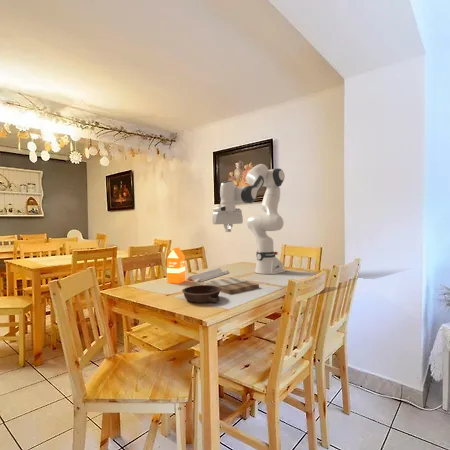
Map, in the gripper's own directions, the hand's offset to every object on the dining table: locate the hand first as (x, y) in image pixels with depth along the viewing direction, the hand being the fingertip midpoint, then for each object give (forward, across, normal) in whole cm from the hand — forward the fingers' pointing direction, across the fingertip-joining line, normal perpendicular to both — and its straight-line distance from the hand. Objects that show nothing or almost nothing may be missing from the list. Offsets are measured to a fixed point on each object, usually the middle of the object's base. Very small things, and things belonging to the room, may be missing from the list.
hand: (228, 231), depth 173 cm
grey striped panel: (+29, +8, +8) cm, 31 cm away
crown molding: (+30, +1, -20) cm, 36 cm away
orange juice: (+29, +24, -20) cm, 43 cm away
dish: (+30, +33, +22) cm, 49 cm away
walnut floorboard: (+29, +8, +19) cm, 35 cm away
